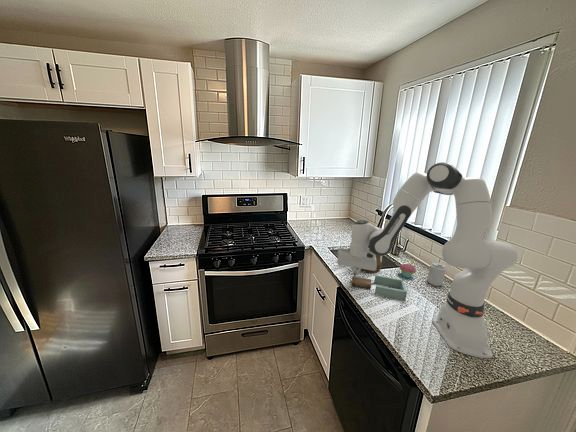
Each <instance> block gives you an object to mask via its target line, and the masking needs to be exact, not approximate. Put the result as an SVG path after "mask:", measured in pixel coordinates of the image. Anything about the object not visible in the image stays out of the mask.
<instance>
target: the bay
mask: <svg viewBox="0 0 576 432" xmlns="http://www.w3.org/2000/svg"><path fill="white" fill-rule="evenodd" d="M376 283H377V284H378V285H377V284H376ZM374 284H376V285H375V291H374V295H376V294H378V295H377V296H381V295H382V296H381V297H387V298H391V299H392V298H393V299H397V300H401V301H406V300H407V295H408V291H407V288H406V285H405V281H404V279H401V278H396V277H390V276H386V275H385V276H384V275H378V274H374ZM382 285H383V286H382ZM398 288H399V289H398Z"/></svg>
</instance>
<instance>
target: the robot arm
mask: <svg viewBox="0 0 576 432" xmlns="http://www.w3.org/2000/svg"><path fill="white" fill-rule="evenodd" d="M432 192H433V193H435V194H440V195H444V196H451V195H452V196H454V201H455V211H456V212H455V214H456V215H455V216H456V227H455V231H454V232H453V235H452V237H451V238H450V239H449V240H447V242H445V243H444V245H443V246H442V249H441V257H442V258H443V260H444V262H445V263H446V264H447V265H448V266H451V267H453V268H454V267H455V268H459V269H463V270H461V271H459V272H457V273H456V274H455V275H454V276H453V278H452V282H451V283H452V284H451V285H450V291H448V293H447V295H446V301H445V303H443V304H441V305H440V308H439V310H438V313H437V316H436V317H434V318H432V320H431V321H432V323H433V325H434V327H435V328H436V329H437V331H438V332H439V333H440V335H441V337H442V339H443V340H444V342H445V343H446V344H447V345H448V347H449V348H450V349H452V350H454V351H456V352H459V353H461V354H464V355H467V356H471V357H475V358H480V359H492V358H493V356H494V353H493V352H492V349H491V345H490V342H489V337H491V335H492V331H491V330H489V329H487V327H486V326H487V321H486V320H485V318H484V314H485V313H484V312H485V303H484V302H485V299H486V296H487V294H488V291H489V288H490V287H491V285H492V284H493V282H494V281H495V280H496V279H497V278H498V276H500V275H501V274H502V273H504V272H505V271H506V270H507V269H509V268H511V267H513V266H515V264H516V263H517V262H518V252H517V250H516V249H515V247H514V246H512V244H510V243H507V242H503V241H500V240H490V239H489V240H487V239H486V240H485V239H483V234H484V232H485V230H486V229H488V228H490V227H491V226H492V225H493V223H494V217H493V209H492V202H491V196H490V192H489V189H488V186H487V184H486V181H485V180H484V179H482V178H480V177H474V176H470V177H464V176H463V174H462V173H461V172H460V171H459V170H458V169H457V168H456V167H455V166H454V164H451V163H448V162H444V161H443V162H437V163H434V164H432V165H431V166H430V167H429V168H428V170H427V173H426V172H422V171H421V172H420V171H418V172H415V173H413V174H412V175H411V176H410V177H408V178H407V180H406V181H404V183H403V184H402V186H400V189H398V191H397V192H396V194H395V195H394V196H395V197H394V198H393V200H392V201H393V202H392V207H393V208H392V214H391V217H390V219H389V220H388V222H387V224H386V225H385V227H383V228H381V227H377V226H375V225H374V224H372V222H370V221H368V220H364V219H363V220H357V221H355V222H354V223H353V225H352V228H351V235H350V238H351V241H350V242H349V248H343V247H340V248H339V249H337V261H336V263H337V265H340V266H345V267H349V268H350V270H351V271H352V272H351V273H352V274H351V275H353V276H354V275H356V276H358V275H359V272H361V269H366V270H372V271H375V270H376V268H377V261H376V255H378V256H382V257H383V256H386V255H388V254H389V253H390V252H391V251H392V250H393V247H394V242H395V240H396V238H397V237H398V235H399V234H400V232H401V231H402V229H403V228H404V227H405V225H406V223H407V222H408V221H409V218H410V217H411V216H412V214H413V213H414V212H415V211H416V210H417V208H418V207H419V206H420V205H421V203H422V201H423V200H424V199H425V197H427V195H429V194H430V193H432ZM368 246H369V248H368ZM354 268H356V269H357V268H358V269H357V270H355V269H354Z"/></svg>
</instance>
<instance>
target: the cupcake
mask: <svg viewBox="0 0 576 432" xmlns="http://www.w3.org/2000/svg"><path fill="white" fill-rule="evenodd" d="M414 258H415V257H413V258H412V260H411V261H410V263H402V264H401V265H399V270H401V276H403V278H407V279H409V278H411V277H412V276H413V274H416V271H417V269H416V267H415V266H413V262H414Z"/></svg>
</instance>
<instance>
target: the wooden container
mask: <svg viewBox="0 0 576 432" xmlns="http://www.w3.org/2000/svg"><path fill="white" fill-rule="evenodd" d="M368 248H369V246H368ZM382 260H383V256H378V255H376V261H377V268H376V270H375V271H372V270H366V269H361V270H360V272H363V271H365V272H364V273H367V274H376V273H379V272H380V271H381V267H382ZM356 269H357V270H358V268H356Z"/></svg>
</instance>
